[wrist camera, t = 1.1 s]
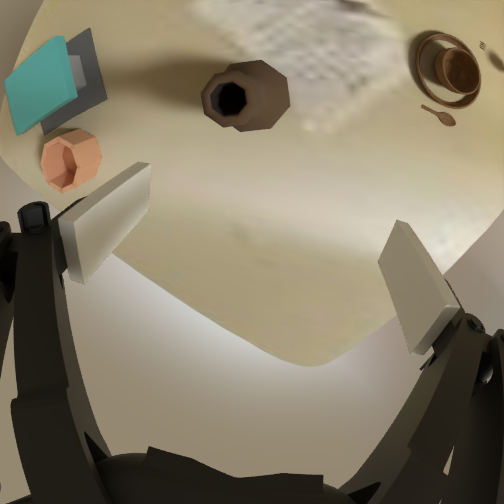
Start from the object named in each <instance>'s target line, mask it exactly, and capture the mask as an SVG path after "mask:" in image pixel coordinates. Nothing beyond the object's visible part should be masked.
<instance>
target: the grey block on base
mask: <svg viewBox="0 0 504 504" xmlns="http://www.w3.org/2000/svg"><path fill="white" fill-rule="evenodd" d="M66 47H67V52H68V57H69V62H70V66H71V71H72V75H73V79H74V83H75V87H76V91H77V95H78V97H77V98H75V99H74V100H72V101H70V102H69V103H67V104H66V105H64V106H63V107H61V108H59V109H58V110H56V111H55V112H53V113H52V114H50V115H49V116H48V117H46V118H45V119H43V120H42V121H40V122H41V125H42V129H43V132H44V135H46V134H47V133H49V132H50V131H52V130H53V129H55V128H57V127H58V126H60V125H61V124H63V123H65V122H66V121H68V120H70V119H71V118H73V117H75V116H77V115H78V114H80V113H82V112H84V111H86V110H87V109H89V108H91V107H93V106H95V105H97V104H99V103H101V102H103V101H105V100H107V95H106V92H105V88H104V84H103V81H102V77H101V73H100V69H99V65H98V61H97V56H96V52H95V48H94V43H93V39H92V34H91V29H90V28H88V29H87V30H85V31H84V32H82V33H80V34H79V35H77V36H76V37H74V38H73V39H72V40H70V41H69V42H67V43H66Z"/></svg>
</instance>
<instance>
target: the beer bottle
mask: <svg viewBox="0 0 504 504" xmlns="http://www.w3.org/2000/svg"><path fill="white" fill-rule="evenodd" d="M201 98H202V104H203V109H204V114H205V115H206V116H208V117H209V118H210V119H212V120H213V121H215V122H216V123H218V124H219V125H220V126H222V127H230V126H233V127H234V128H236V129H237V130H238V131H240V132H244V131H253V130H262V129H270V128H272V127H273V126H274V124H275V123H276V122H277V121H278V120H279V118H280V117H281V116H282V115H283V114H284V113H285V111H286V110H287V109H288V108H289V107H290V99H289V91H288V83H287V78H286V77H285V76H284V75H282V74H281V73H279V72H278V71H277V70H275V69H274V68H272V67H271V66H270V65H268V64H267V63H265V62H264V61H262V60H256V61H249V62H242V63H235V64H230V65H229V66H228V68H227V69H226V70H225V71H224V73H218V74H214V76H213V77H212V78H211V80H210V81H209V82H208V84H207V85H206V86H205V88H204V89H203V91H202V92H201Z"/></svg>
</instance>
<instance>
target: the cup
mask: <svg viewBox="0 0 504 504" xmlns="http://www.w3.org/2000/svg"><path fill="white" fill-rule="evenodd" d="M101 159H102V155H101V152H100V149H99V146H98V143H97V140H96V137H95V136H93V135H91V134H89V133H88V132H86V131H84V130H82V129H77V130H74V131H71V132H68V133H66V134H63V135H60V136H58V137H56V138H54V139H53V140H51V141H49V142H48V143H46V144H45V145H44V149H43V153H42V158H41V163H40V165H41V168H42V170H43V173H44V176H45V179H46V181H47V184H49V185H50V186H51V187H53V188H54V189H56V190H57V191H59V192H60V193H64V192H67V191H69V190H71V189H74V188H76V187H78V186H79V185H81V184H82V183H84V182H86V181H87V180H89V179H91V178H92V177H94V176H96V174H97V171H98V168H99V165H100V162H101Z"/></svg>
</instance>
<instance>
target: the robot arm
mask: <svg viewBox="0 0 504 504" xmlns="http://www.w3.org/2000/svg"><path fill="white" fill-rule="evenodd" d="M150 171H151V164H150V163H143V162H137V163H135V164H134V165H132V166H131V167H129V168H128V169H126V170H124V171H123V172H121V173H120V174H118V175H117V176H115V177H114V178H112V179H111V180H110V181H108V182H107V183H105V184H104V185H102V186H101V187H99V188H98V189H97V190H95V191H94V192H92V193H91V194H90V195H88V196H86V197H83V198H81V199H78V200H76V201H75V202H74V203H72V204H71V205H70V206H68V207H67V208H66V209H65V210H64V211H62V212H61V213H59V214H58V215H57V216H56V217H54V218H53V219H52V220H51V218H50V212H49V206H48V203H46V202H41V201H38V202H32V203H29V204H27V205H25V206H23V207H22V208H21V209H19V211H18V212H17V214H18V218H19V223H20V228H21V233H12V232H11V228H10V225H9V223H8V222H5V221H2V222H0V377H1V371H2V365H3V359H4V354H5V349H6V344H7V340H8V335H9V331H10V327H11V323H12V320H13V316H14V324H13V328H14V358H15V371H16V381H17V390H18V396H17V398H15V399H12V401H11V416H12V422H13V428H14V433H15V438H16V443H17V447H18V451H19V455H20V459H21V463H22V467H23V470H24V474H25V477H26V480H27V483H28V486H29V490H30V492H31V494H30V495H28V496H25V497H23V498H20V499H18V500H15V501H12V502H10V503H7V504H439V502H440V501H441V503H440V504H504V330H503V329H498V330H497V331H496V333H495V334H494V335H493V336H490V335H488V334H486V333H485V328H484V326H483V324H482V323H481V321H480V320H479V319H478V318H477V317H475V316H474V315H472V314H469V313H465V311H464V309H463V308H462V306H461V304H460V302H459V300H458V298H457V297H456V296H455V293H454V291H452V288H451V286H450V285H449V283H448V281H447V280H446V279H445V278H444V277H443V276H442V274H441V272H440V271H439V269H438V267H437V266H436V264H435V263H434V261H433V259H432V258H431V256H430V255H429V253H428V252H427V250H426V249H425V247H424V246H423V244H422V243H421V241H420V240H419V238H418V237H417V235H416V234H415V232H414V231H413V229H412V228H411V227H410V225H409V224H408V223H406V222H402V221H399V220H396V222H395V225H394V227H393V229H392V231H391V234H390V236H389V238H388V240H387V243H386V245H385V247H384V249H383V251H382V253H381V256H380V258H379V260H378V264H379V266H380V269H381V271H382V274H383V277H384V279H385V282H386V284H387V287H388V290H389V292H390V295H391V298H392V301H393V303H394V306H395V309H396V312H397V315H398V318H399V321H400V324H401V327H402V330H403V333H404V336H405V339H406V342H407V346H408V349H409V352H410V354H416V355H417V354H418V355H424V354H425V353H426V352H427V351H428V349H429V348H430V347H431V346H432V347H433V349H434V353H433V354H432V356H431V357H430V358H429V359H428V360H427V361H426V362H425V364H424V365H423V366H422V367H421V368H420V370H422V369H423V368H424V370H423V372H422V374H421V375H420V377H419V379H418V381H417V383H416V385H415V387H414V388H413V390H412V392H411V394H410V396H409V397H408V399H407V401H406V402H405V404H404V406H403V408H402V409H401V411H400V412H399V414H398V415H397V417H396V419H395V420H394V422H393V423H392V425H391V426H390V428H389V429H388V431H387V432H386V434H385V435H384V437H383V438H382V440H381V441H380V443H379V444H378V445H377V447H376V448H375V449H374V451H373V452H372V454H371V455H370V456H369V458H368V459H367V460H366V462H365V463H364V464H363V465H362V467H361V468H360V469H359V470H358V472H357V473H356V474H355V475H354V476H353V477H352V478H351V479H350V480H349V481H348V482H346V483H345V484H344V485H342V486H341V487H340V488H339V489H336V488H335V487H332V486H329V485H327V484H324V483H323V475H306V474H288V473H280V474H273V475H264V476H255V477H244V478H237V477H232V476H230V475H227V474H225V473H223V472H220V471H218V470H216V469H213V468H211V467H209V466H207V465H205V464H203V463H200V462H198V461H196V460H194V459H192V458H189V457H185V456H181V455H177V454H173V453H170V452H166V451H163V450H160V449H156V448H153V447H150V446H149V447H148V451H147V454H146V453H127V454H120V455H115V456H111V453H110V451H109V449H108V447H107V445H106V443H105V441H104V439H103V437H102V435H101V433H100V431H99V428H98V426H97V424H96V420H95V418H94V415H93V412H92V409H91V406H90V402H89V399H88V396H87V393H86V390H85V386H84V382H83V379H82V375H81V371H80V368H79V364H78V359H77V355H76V351H75V346H74V341H73V337H72V332H71V327H70V321H69V315H68V309H67V303H66V295H65V287H64V280H63V276H62V273H63V272H64V271H65V270H66V269H68V273H69V277H70V280H72V281H76V282H78V283H81V284H84V285H85V284H86V283H87V281H88V280H89V279H90V277H91V276H92V275H93V274H94V272H95V271H96V270H97V269H98V268H99V267H100V265H101V264H102V263H103V262H104V260H105V259H106V258H107V257H108V256H109V255H110V253H111V252H112V251H113V250H114V249H115V248H116V247H117V245H118V244H119V243H120V242H121V241H122V240H123V239H124V237H125V236H126V235H127V234H128V233H129V232H130V231H131V230H132V229H133V227H134V226H135V225H136V224H137V223H138V222H139V221H140V220H141V219H142V218H143V217H144V216H145V214H146V213H147V212H148V211H149V194H150ZM491 375H492V377H491V379H490V380H489V382H488V383H487V379H488V378H489V377H490V376H491ZM453 446H454V450H453V455H452V460H451V465H450V470H449V474H448V475H446V474H445V473H443V470H444V467H445V465H446V463H447V461H448V458H449V456H450V454H451V452H452V449H453ZM0 490H1V484H0ZM441 499H442V500H441Z"/></svg>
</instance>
